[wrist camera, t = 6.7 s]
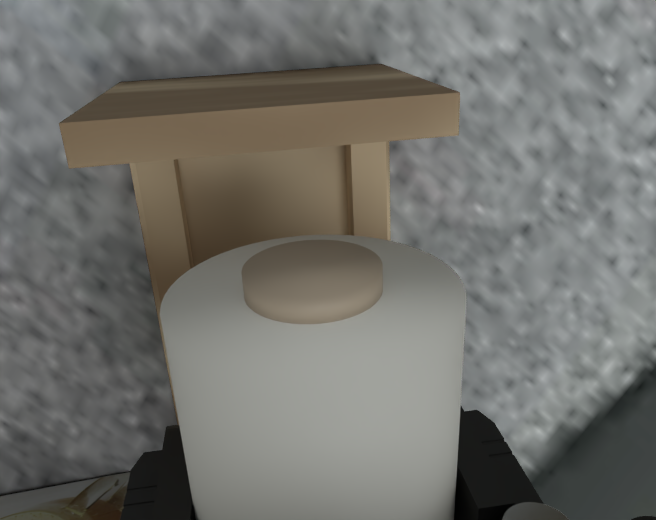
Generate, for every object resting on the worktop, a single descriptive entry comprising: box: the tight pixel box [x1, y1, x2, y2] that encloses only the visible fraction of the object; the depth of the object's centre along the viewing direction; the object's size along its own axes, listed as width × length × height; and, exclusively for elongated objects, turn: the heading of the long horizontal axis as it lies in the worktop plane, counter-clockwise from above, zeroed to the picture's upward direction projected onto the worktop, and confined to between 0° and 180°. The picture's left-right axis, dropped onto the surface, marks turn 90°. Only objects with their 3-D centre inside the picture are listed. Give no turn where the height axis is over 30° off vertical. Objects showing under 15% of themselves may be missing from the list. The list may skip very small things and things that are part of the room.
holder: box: [59, 64, 460, 425], centre depth 20 cm, size 15×9×8 cm, turn 3°
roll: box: [160, 235, 467, 520], centre depth 12 cm, size 10×5×5 cm, turn 2°
